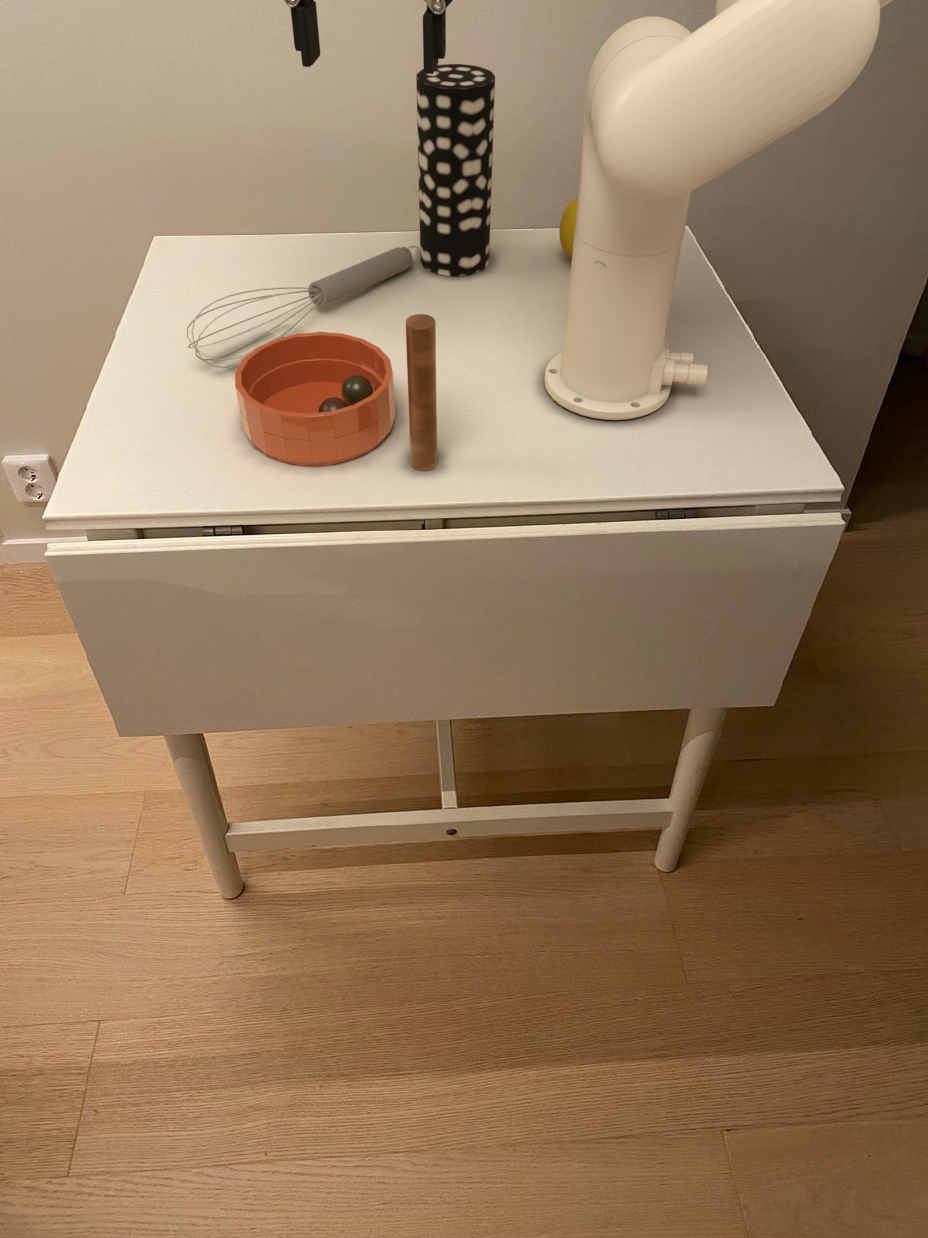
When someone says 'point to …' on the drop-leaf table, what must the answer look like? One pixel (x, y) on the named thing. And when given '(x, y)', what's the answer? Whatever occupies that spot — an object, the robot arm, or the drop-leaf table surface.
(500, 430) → the drop-leaf table surface
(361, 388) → the bead
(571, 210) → the lemon
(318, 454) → the bowl
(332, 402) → the bead
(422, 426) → the stirring stick
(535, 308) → the drop-leaf table surface
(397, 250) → the kitchen whisk
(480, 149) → the white-spotted black cylinder
